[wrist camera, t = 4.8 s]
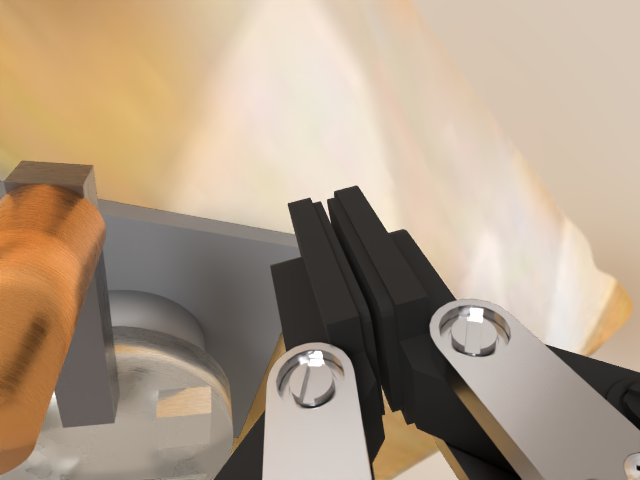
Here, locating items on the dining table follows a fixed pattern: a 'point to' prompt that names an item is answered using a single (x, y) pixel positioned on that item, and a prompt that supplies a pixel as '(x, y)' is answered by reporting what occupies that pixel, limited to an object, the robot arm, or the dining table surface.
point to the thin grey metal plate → (198, 287)
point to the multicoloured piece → (91, 353)
